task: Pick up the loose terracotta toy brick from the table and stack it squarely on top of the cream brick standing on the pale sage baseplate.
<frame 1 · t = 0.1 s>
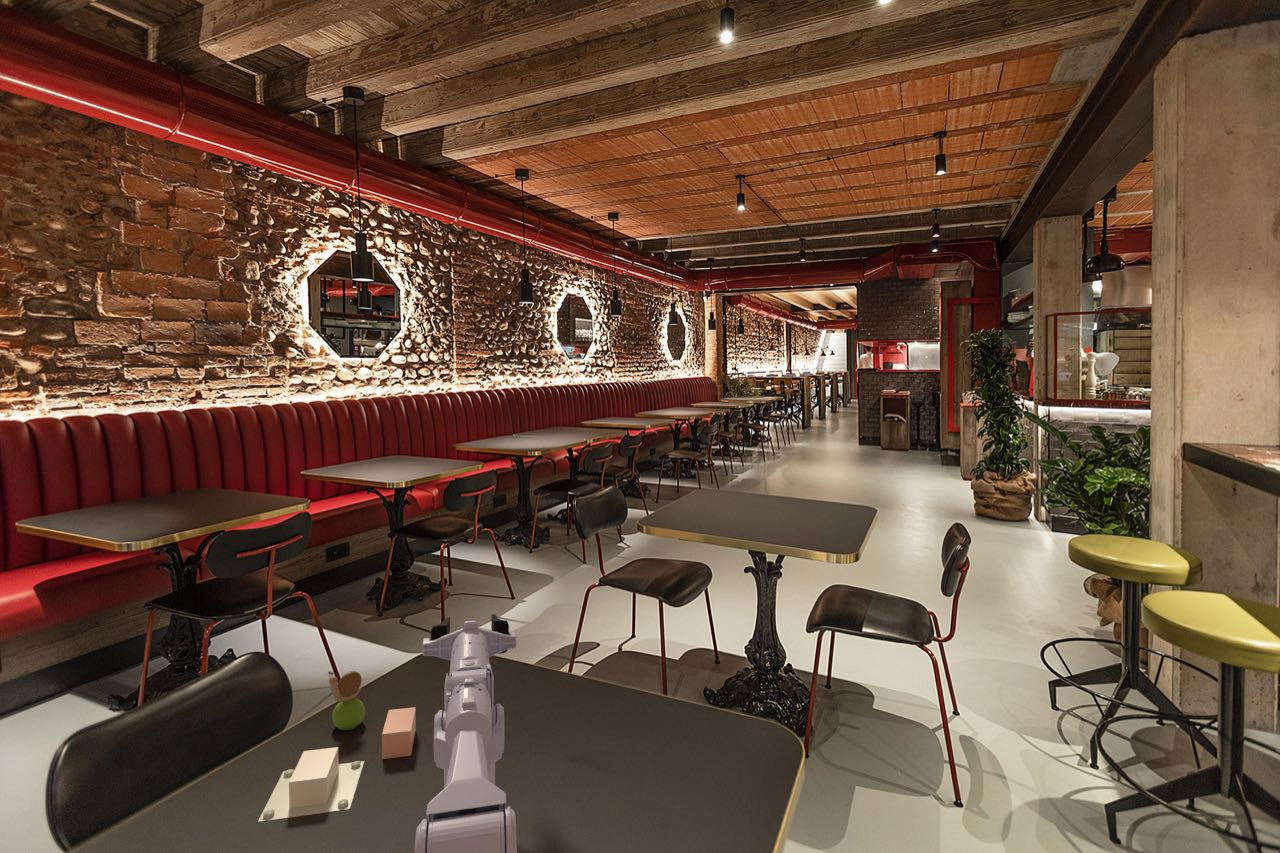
hand: (470, 621, 109), 22 cm above the table, tool horizontal, fingers open, 7 cm apart
baseplate: (315, 792, 95), on the table
top brick: (399, 748, 108), on the table
bottom brick: (315, 789, 95), point 1 cm above the table, touching baseplate
snail figurine: (346, 730, 113), on the table
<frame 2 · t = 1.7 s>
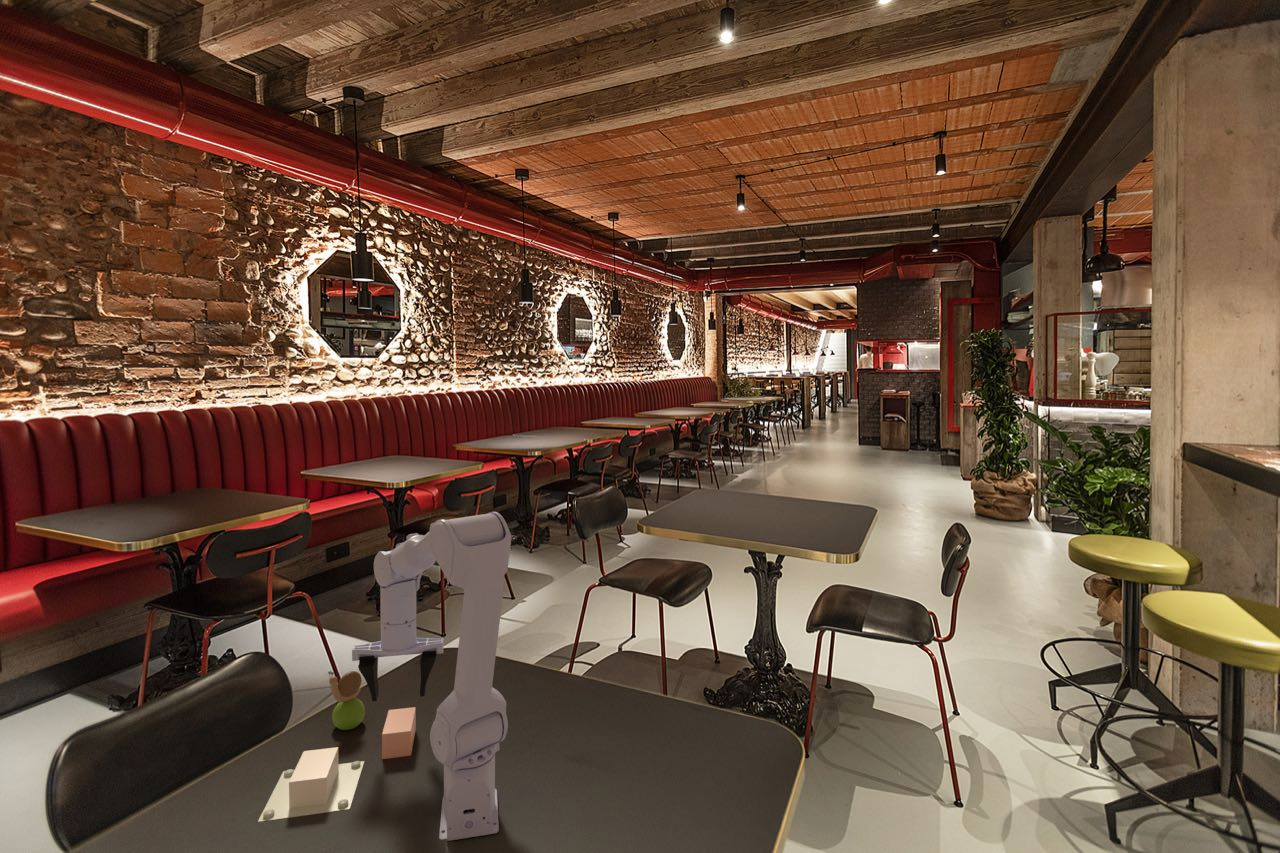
hand: (399, 696, 107), 9 cm above the table, tool pointing down, fingers open, 7 cm apart
nothing on the table moved.
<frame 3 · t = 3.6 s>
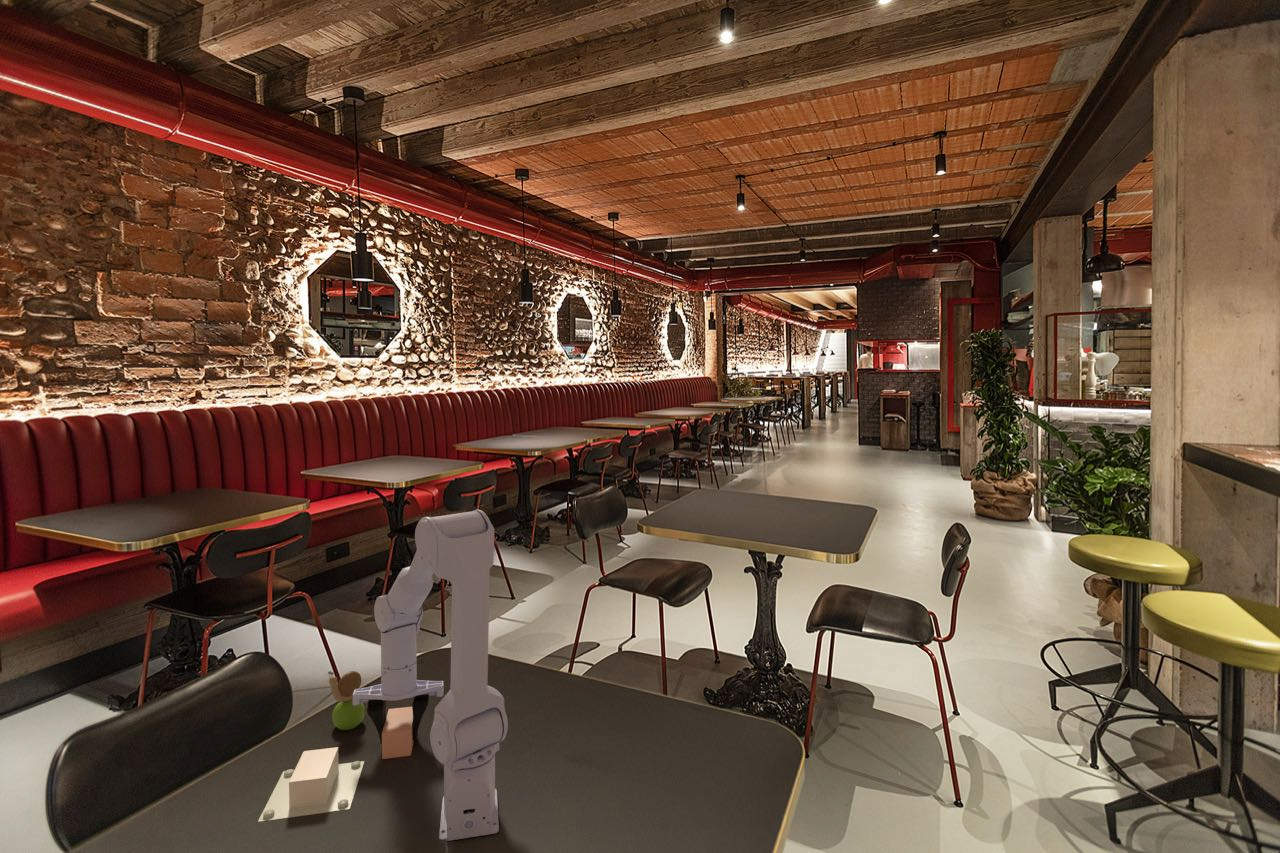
hand: (399, 739, 108), 1 cm above the table, tool pointing down, fingers closed on top brick, 4 cm apart
top brick: (399, 747, 108), on the table, touching gripper
everything else where it was.
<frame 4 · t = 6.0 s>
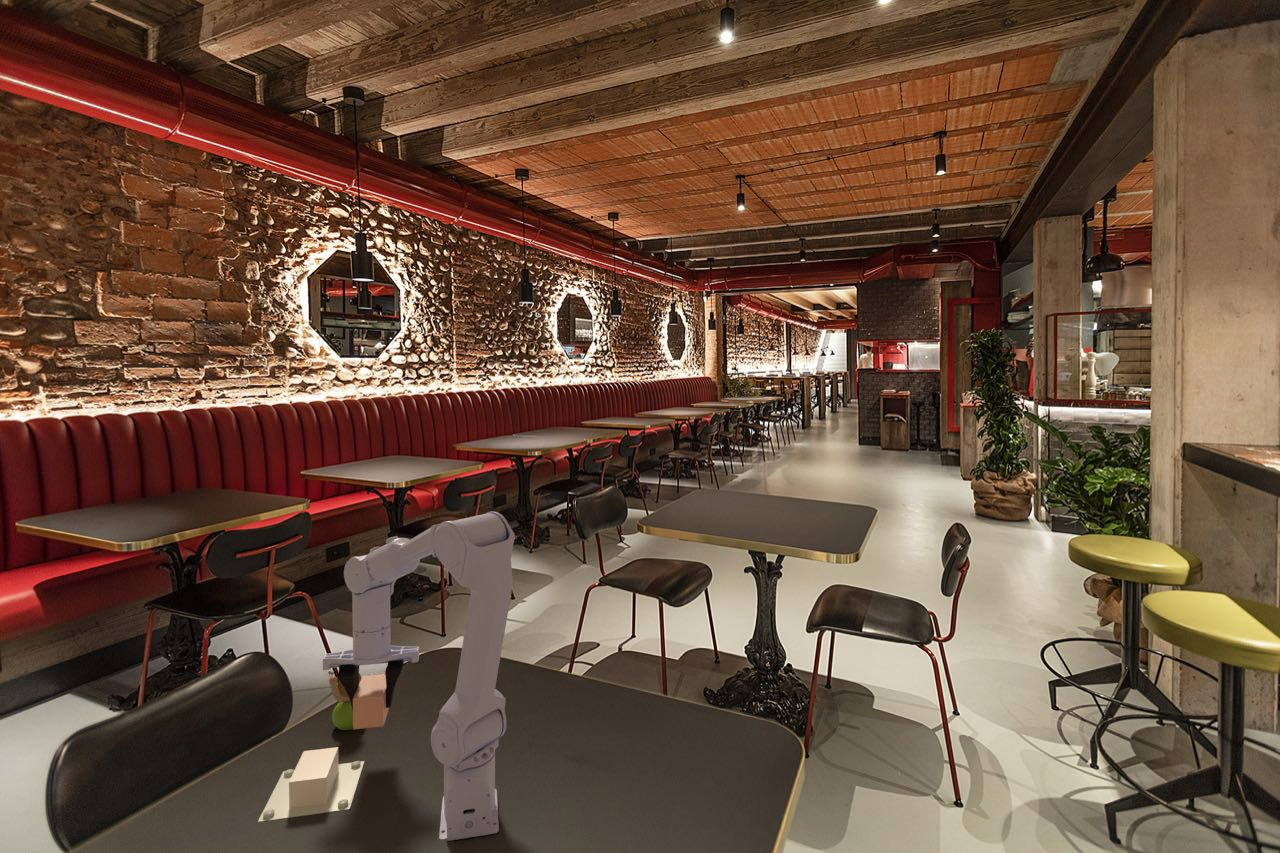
hand: (372, 706, 103), 9 cm above the table, tool pointing down, fingers closed on top brick, 4 cm apart
top brick: (372, 715, 103), point 8 cm above the table, touching gripper
everything else where it was.
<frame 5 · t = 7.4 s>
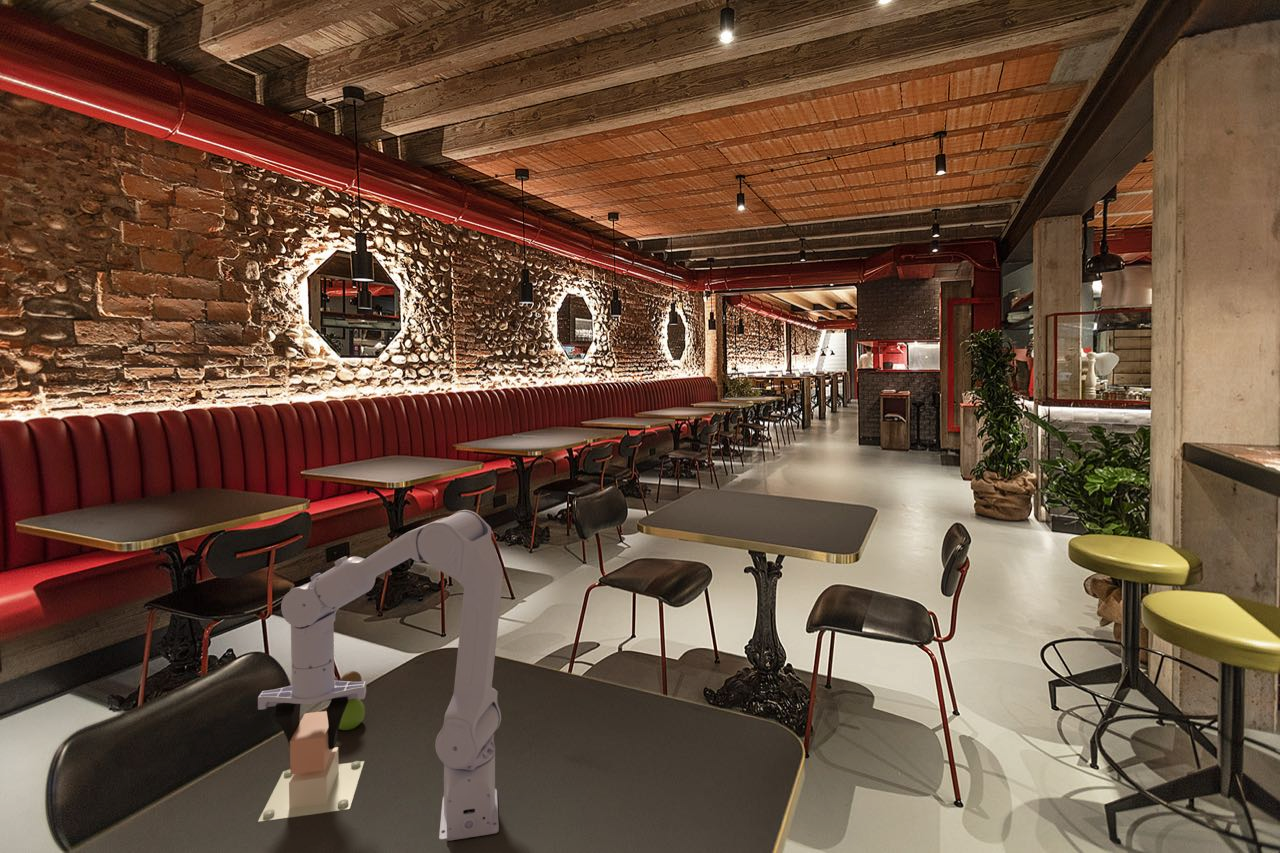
hand: (314, 747, 95), 7 cm above the table, tool pointing down, fingers closed on top brick, 4 cm apart
top brick: (314, 756, 95), point 6 cm above the table, touching gripper
everything else where it was.
when the fingers open (7 cm above the table, at t = 8.7 s): top brick stays where it is, resting on bottom brick.
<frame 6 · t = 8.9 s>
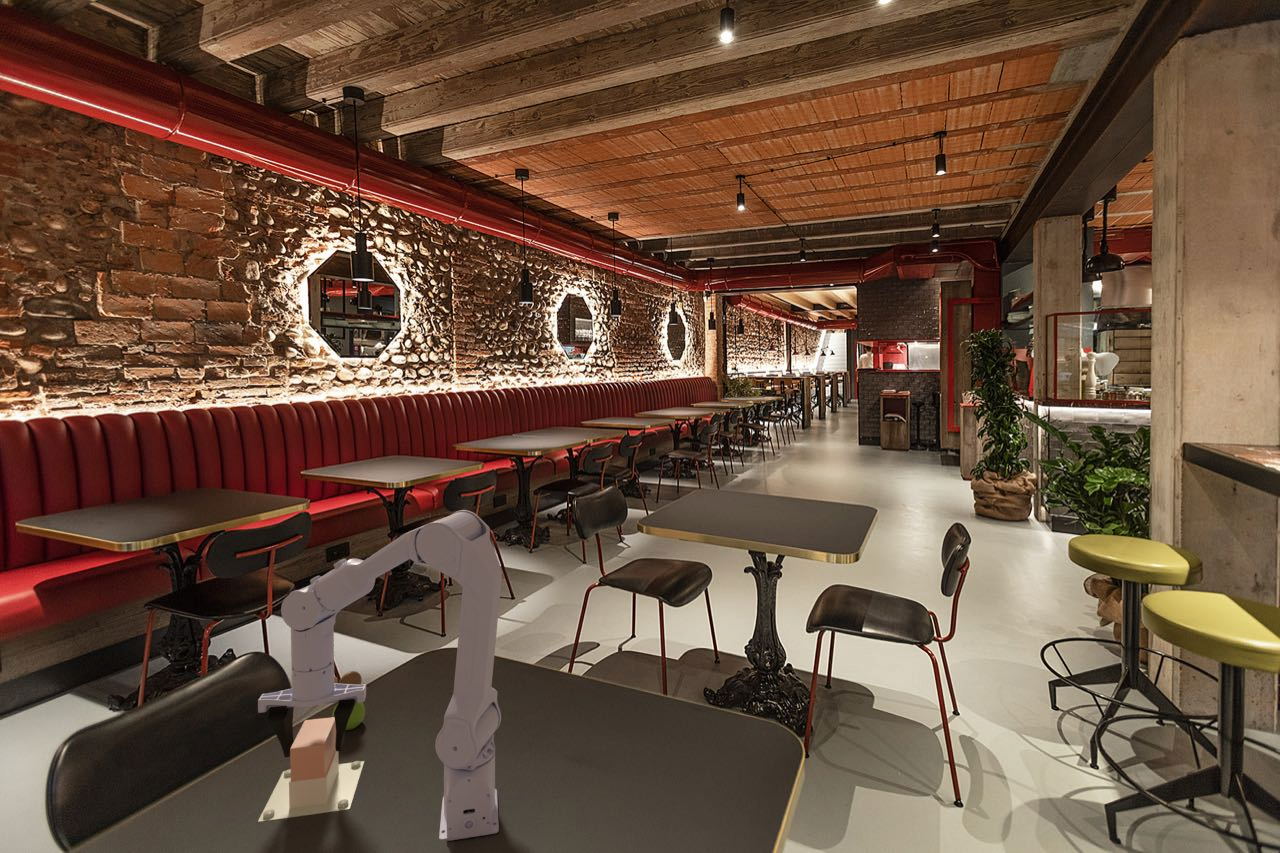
hand: (314, 750, 95), 7 cm above the table, tool pointing down, fingers open, 6 cm apart
top brick: (314, 763, 95), point 5 cm above the table, touching bottom brick
bottom brick: (315, 789, 95), point 1 cm above the table, touching baseplate, top brick
everything else where it was.
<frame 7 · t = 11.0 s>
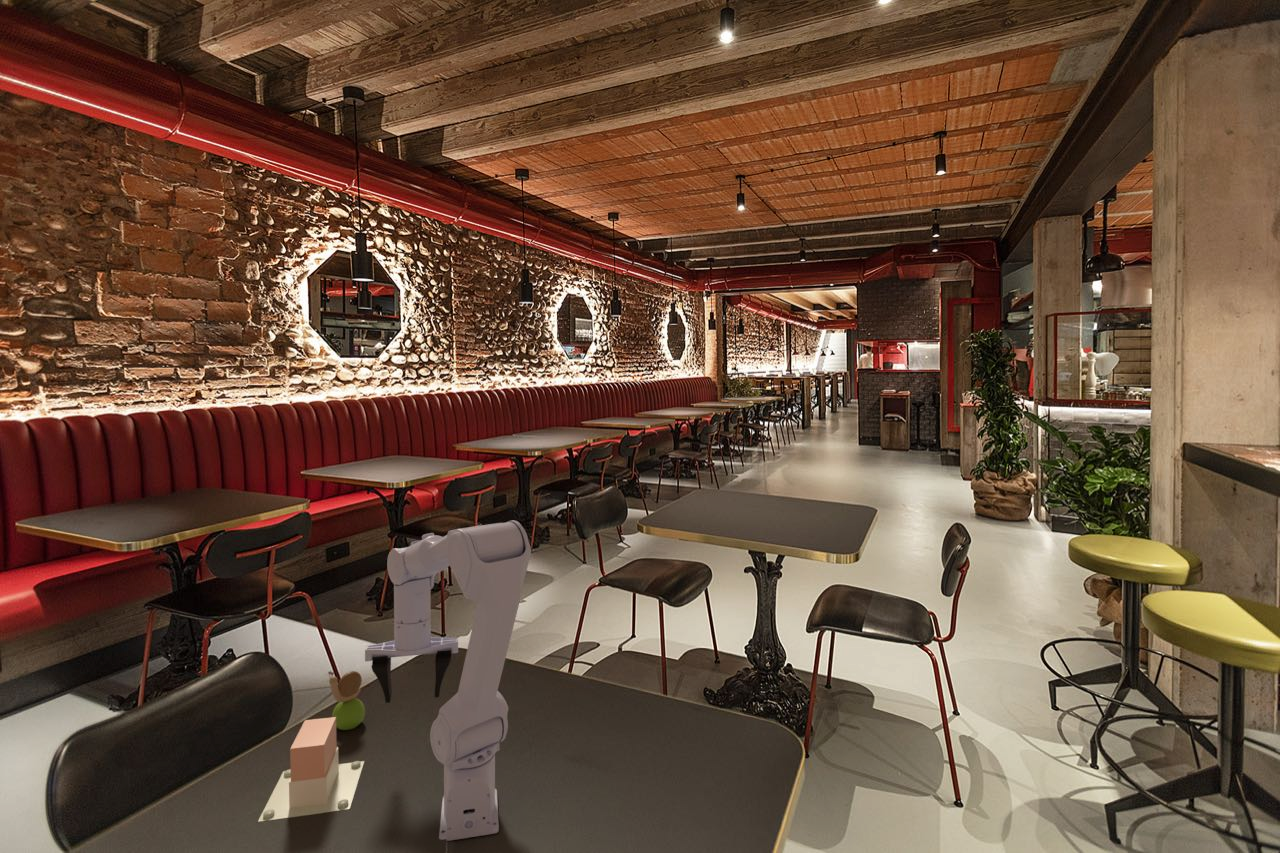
hand: (413, 697, 104), 10 cm above the table, tool pointing down, fingers open, 7 cm apart
nothing on the table moved.
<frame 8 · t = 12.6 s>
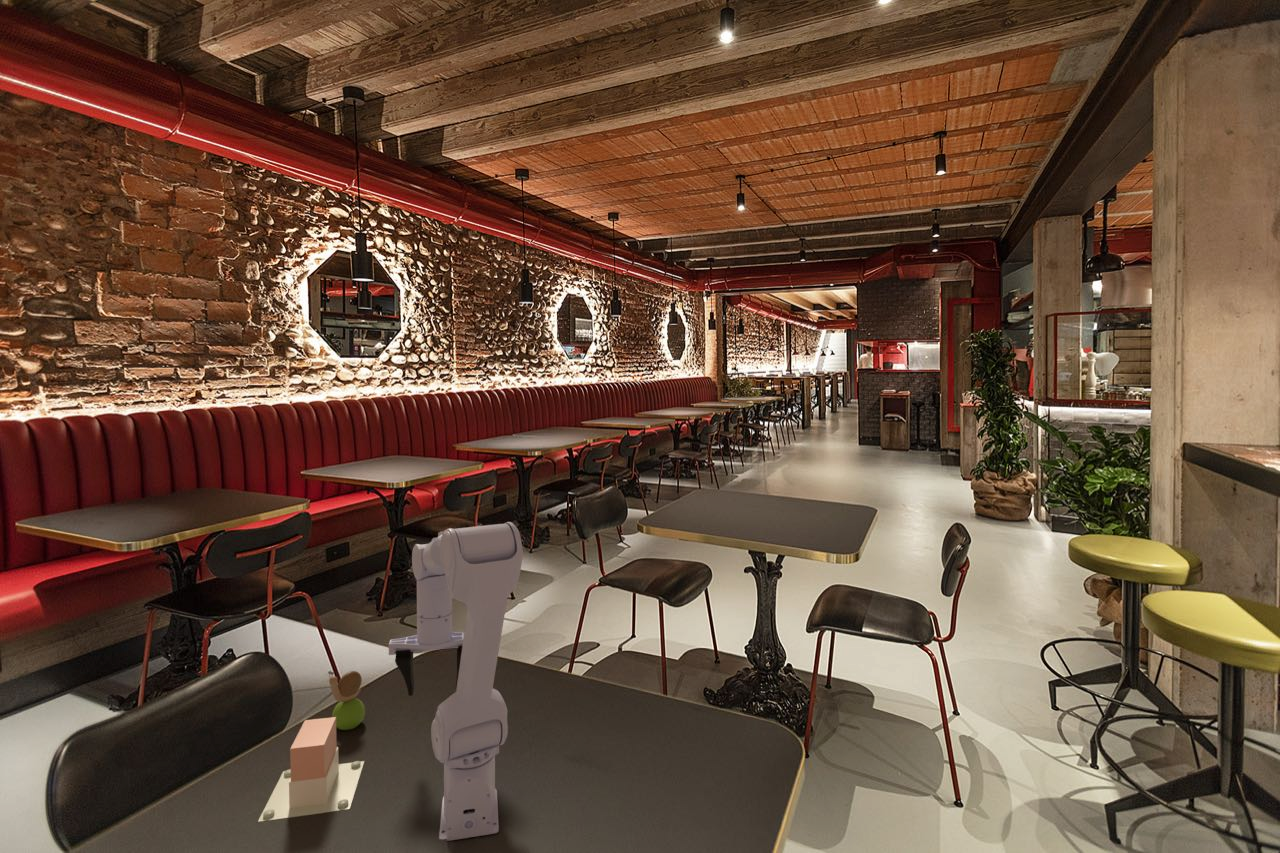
hand: (435, 690, 107), 10 cm above the table, tool pointing down, fingers open, 7 cm apart
nothing on the table moved.
at the end: top brick 0.0 cm off-centre on the bottom brick, point 4.0 cm above the bottom brick's base; top brick tilted 0°; bottom brick 0.0 cm off-centre on the baseplate, point 0.6 cm above the baseplate's base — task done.
